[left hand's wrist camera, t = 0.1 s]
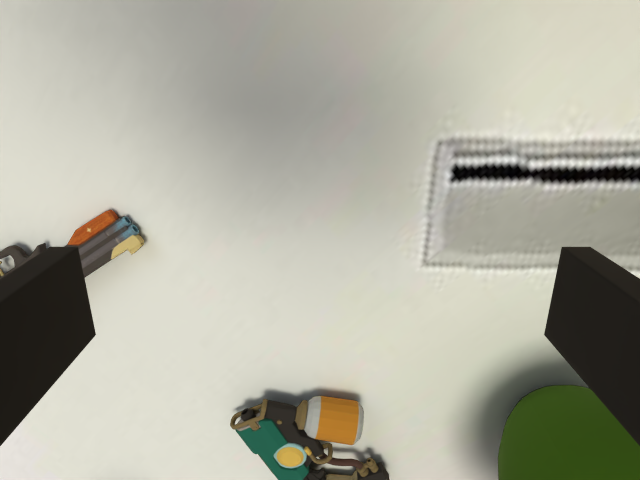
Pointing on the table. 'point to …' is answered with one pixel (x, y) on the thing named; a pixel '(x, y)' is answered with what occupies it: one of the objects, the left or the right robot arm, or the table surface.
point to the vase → (566, 439)
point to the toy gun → (91, 242)
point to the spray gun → (305, 437)
